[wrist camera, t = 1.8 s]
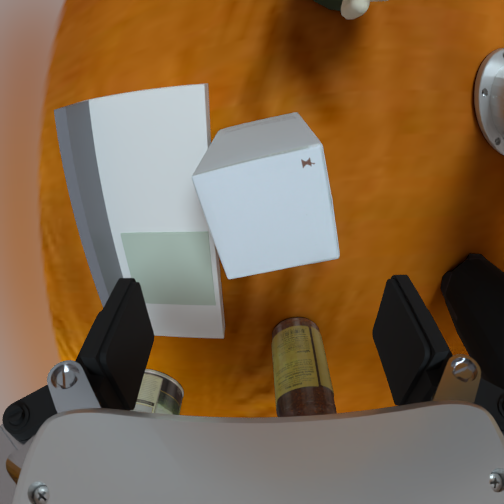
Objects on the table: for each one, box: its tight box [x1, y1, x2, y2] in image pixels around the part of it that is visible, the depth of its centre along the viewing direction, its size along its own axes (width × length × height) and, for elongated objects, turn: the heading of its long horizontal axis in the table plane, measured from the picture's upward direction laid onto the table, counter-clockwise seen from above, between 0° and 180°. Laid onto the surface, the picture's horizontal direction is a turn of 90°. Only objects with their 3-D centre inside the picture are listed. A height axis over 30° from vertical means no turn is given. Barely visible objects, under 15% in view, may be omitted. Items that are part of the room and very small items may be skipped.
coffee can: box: [130, 369, 184, 415], centre depth 42 cm, size 10×10×14 cm
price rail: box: [54, 100, 123, 308], centre depth 29 cm, size 1×28×4 cm, turn 1°
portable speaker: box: [441, 253, 504, 390], centre depth 27 cm, size 9×9×20 cm
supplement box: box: [191, 112, 340, 279], centre depth 23 cm, size 7×7×13 cm
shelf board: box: [78, 84, 225, 338], centre depth 32 cm, size 12×28×2 cm, turn 1°
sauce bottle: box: [272, 317, 337, 417], centre depth 32 cm, size 7×6×20 cm
